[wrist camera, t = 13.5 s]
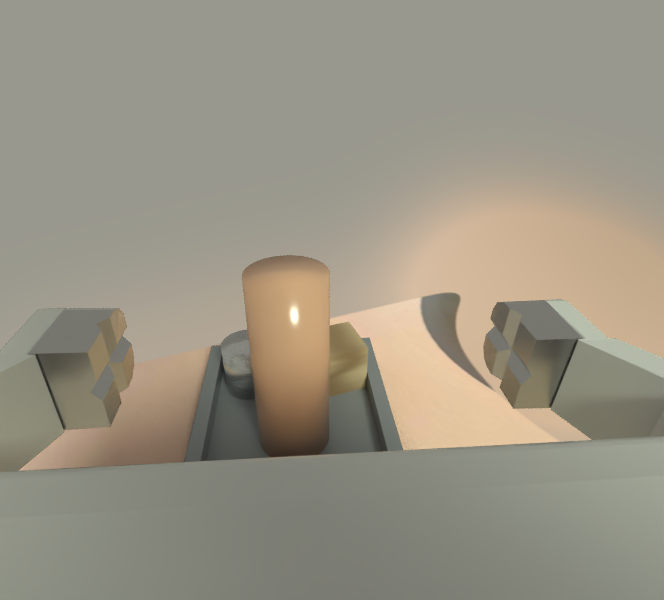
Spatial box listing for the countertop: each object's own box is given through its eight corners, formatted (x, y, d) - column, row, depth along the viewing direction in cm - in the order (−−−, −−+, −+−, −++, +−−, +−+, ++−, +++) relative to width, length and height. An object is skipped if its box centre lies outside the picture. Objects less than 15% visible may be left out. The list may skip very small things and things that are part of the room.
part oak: (320, 399, 35) (319, 358, 33) (305, 369, 38) (303, 330, 36) (366, 387, 36) (368, 347, 34) (347, 359, 39) (348, 321, 37)
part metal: (224, 401, 35) (217, 360, 33) (229, 369, 38) (224, 330, 36) (274, 398, 35) (271, 358, 33) (275, 366, 38) (272, 328, 36)
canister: (258, 466, 29) (237, 296, 23) (261, 412, 34) (245, 256, 27) (332, 460, 30) (333, 292, 23) (326, 408, 34) (326, 254, 27)
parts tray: (182, 523, 27) (175, 497, 25) (215, 368, 40) (211, 346, 38) (407, 504, 28) (411, 478, 27) (368, 359, 41) (369, 337, 40)
